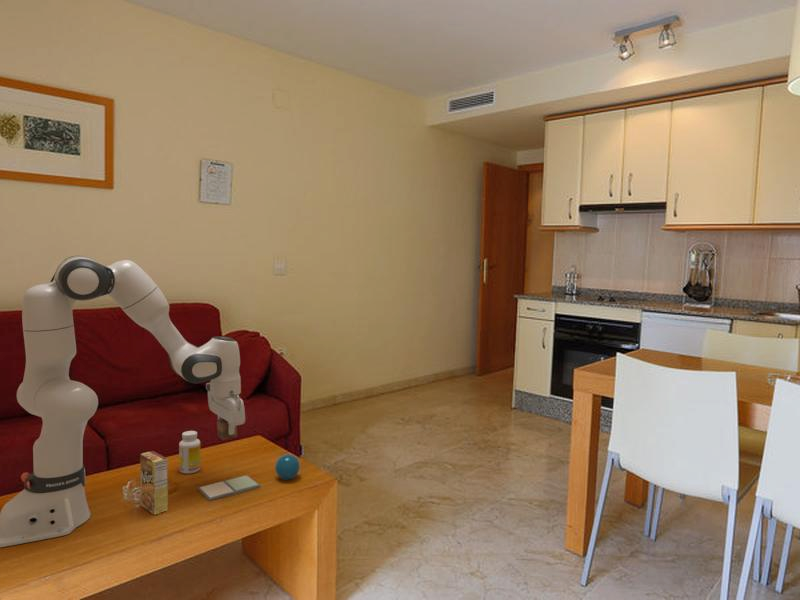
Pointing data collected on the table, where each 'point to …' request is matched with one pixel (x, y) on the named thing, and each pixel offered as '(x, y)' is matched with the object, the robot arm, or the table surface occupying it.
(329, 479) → the table surface
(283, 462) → the ball
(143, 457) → the candy box
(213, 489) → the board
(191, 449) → the supplement bottle
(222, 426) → the walnut token
